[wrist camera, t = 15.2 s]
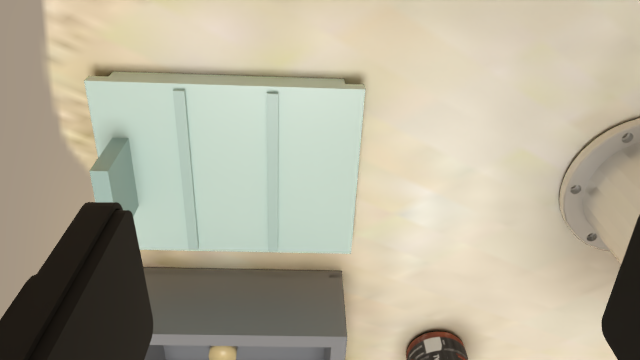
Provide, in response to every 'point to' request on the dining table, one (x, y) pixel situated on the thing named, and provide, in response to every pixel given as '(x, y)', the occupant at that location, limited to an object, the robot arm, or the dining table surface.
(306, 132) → the lid
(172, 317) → the tub
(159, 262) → the dining table surface
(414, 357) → the supplement bottle
